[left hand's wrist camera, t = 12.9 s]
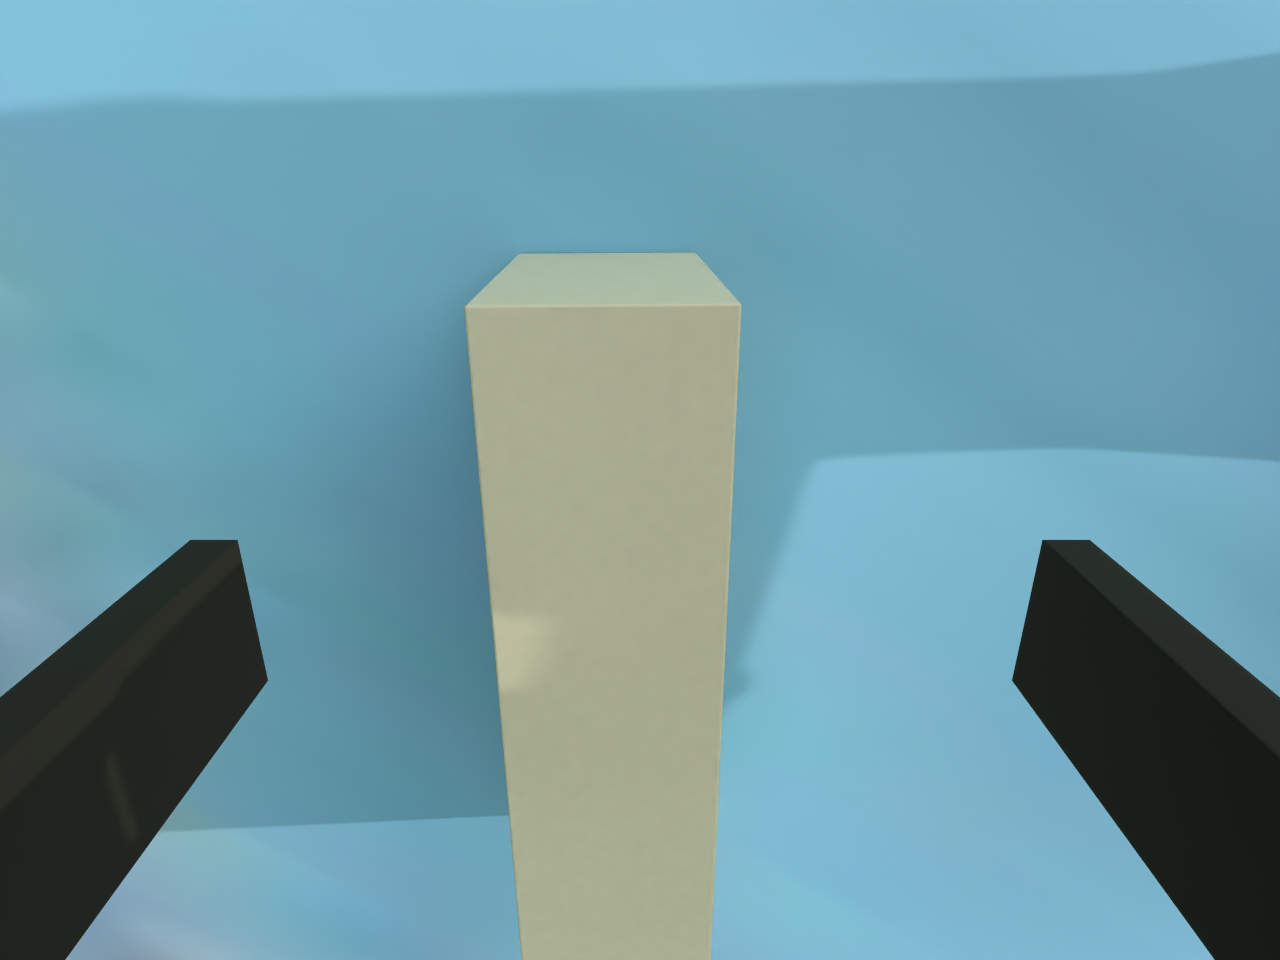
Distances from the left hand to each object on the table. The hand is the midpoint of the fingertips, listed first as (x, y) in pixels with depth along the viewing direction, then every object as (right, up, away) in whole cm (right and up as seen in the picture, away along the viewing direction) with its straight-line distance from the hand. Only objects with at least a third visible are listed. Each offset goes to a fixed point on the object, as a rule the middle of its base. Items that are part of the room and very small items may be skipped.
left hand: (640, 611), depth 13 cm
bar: (-1, -1, +15) cm, 15 cm away
